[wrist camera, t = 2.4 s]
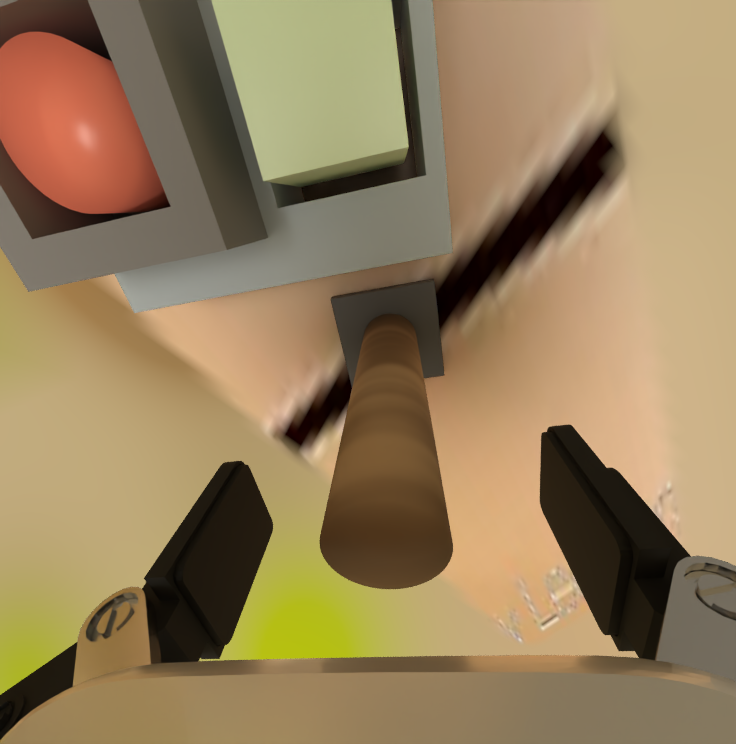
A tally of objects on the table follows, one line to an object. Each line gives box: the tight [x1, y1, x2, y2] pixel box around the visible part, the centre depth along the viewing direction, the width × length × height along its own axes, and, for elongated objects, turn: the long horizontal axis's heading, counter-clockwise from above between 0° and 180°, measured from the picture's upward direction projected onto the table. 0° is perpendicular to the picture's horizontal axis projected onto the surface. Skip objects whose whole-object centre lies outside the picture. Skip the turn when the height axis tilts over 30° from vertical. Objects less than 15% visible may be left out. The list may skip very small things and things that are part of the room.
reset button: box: [0, 32, 171, 214], centre depth 12 cm, size 4×4×5 cm
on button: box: [211, 0, 409, 187], centre depth 12 cm, size 5×5×5 cm
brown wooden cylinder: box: [320, 314, 453, 589], centre depth 14 cm, size 3×3×14 cm
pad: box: [331, 279, 444, 387], centre depth 21 cm, size 6×6×1 cm
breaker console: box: [0, 0, 453, 313], centre depth 13 cm, size 12×15×9 cm
